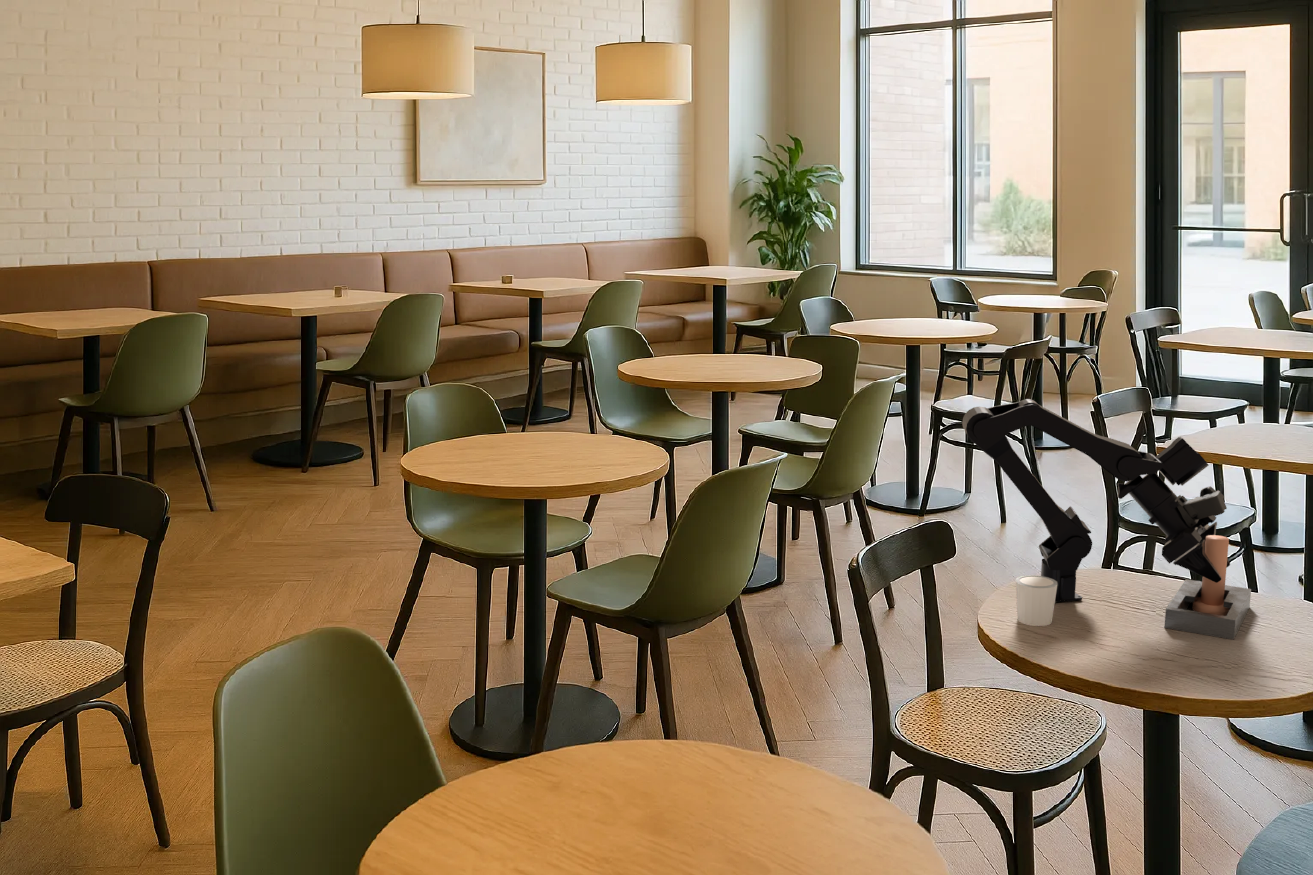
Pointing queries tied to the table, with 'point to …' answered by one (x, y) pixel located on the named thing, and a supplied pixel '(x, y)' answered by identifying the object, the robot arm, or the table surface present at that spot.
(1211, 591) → the peg
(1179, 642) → the table surface
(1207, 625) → the keyhole plate
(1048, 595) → the white cup
